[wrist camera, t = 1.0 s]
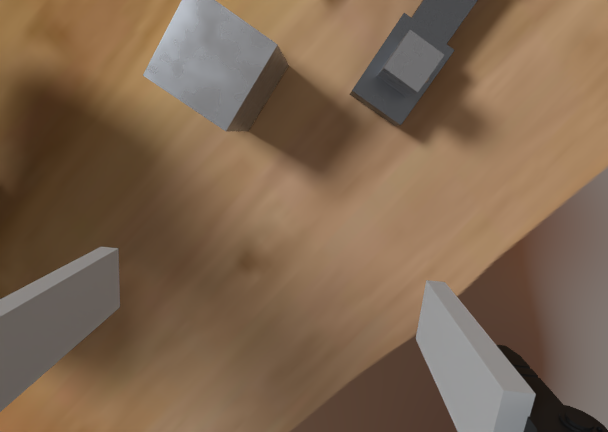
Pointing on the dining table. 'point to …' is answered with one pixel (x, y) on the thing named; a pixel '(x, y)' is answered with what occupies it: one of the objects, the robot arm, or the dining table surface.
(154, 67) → the grey stone cube
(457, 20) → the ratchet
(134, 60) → the dining table surface
